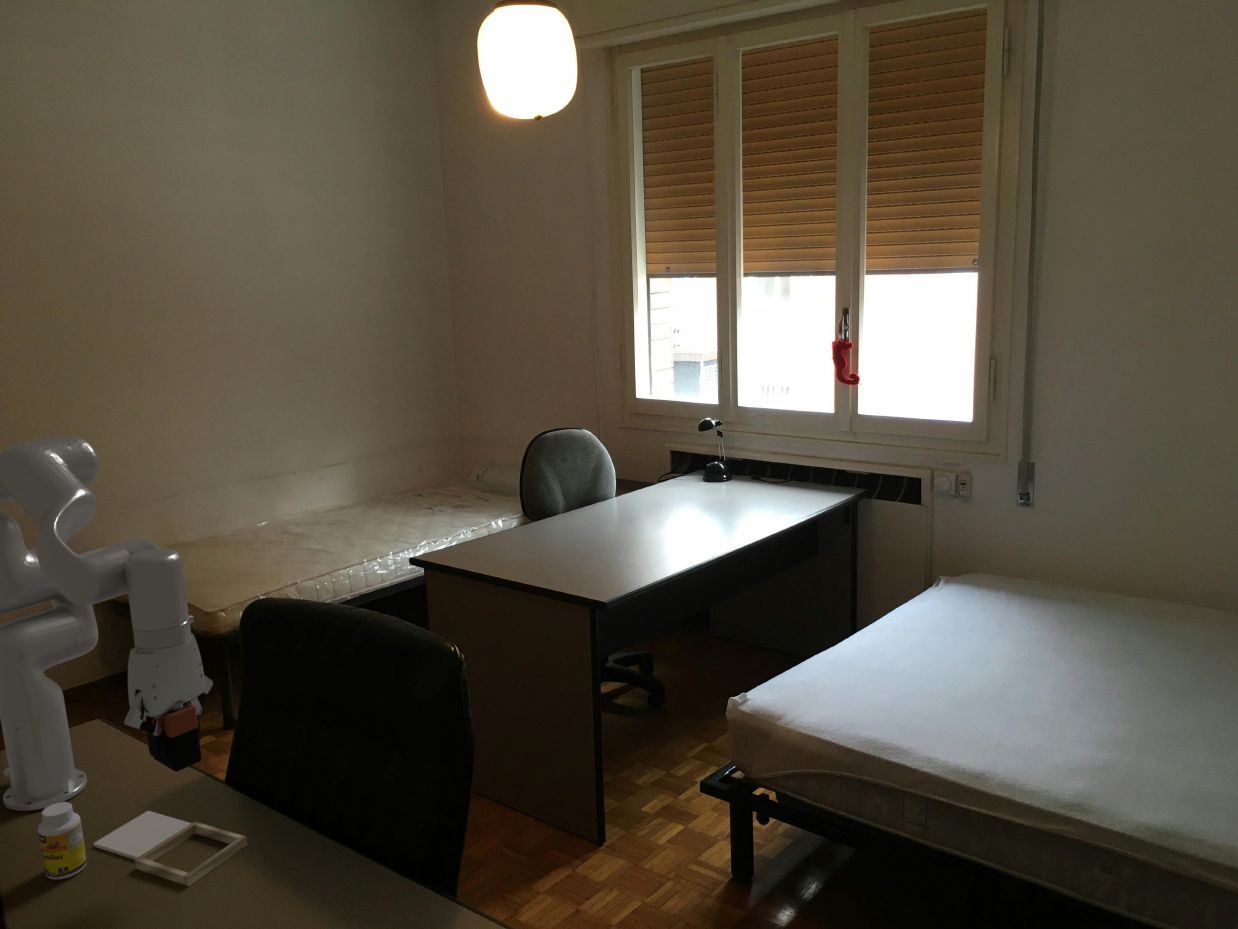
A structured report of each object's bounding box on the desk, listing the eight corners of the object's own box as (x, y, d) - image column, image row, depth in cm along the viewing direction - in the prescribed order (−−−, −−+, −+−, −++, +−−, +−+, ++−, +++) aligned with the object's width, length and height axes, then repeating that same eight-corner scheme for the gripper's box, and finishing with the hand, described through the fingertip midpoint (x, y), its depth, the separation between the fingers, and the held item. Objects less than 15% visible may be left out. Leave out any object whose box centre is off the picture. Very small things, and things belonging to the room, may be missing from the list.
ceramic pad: (94, 846, 152) (93, 843, 152) (148, 813, 160) (148, 810, 160) (138, 861, 147) (137, 857, 147) (191, 826, 156) (191, 823, 156)
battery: (175, 774, 141) (167, 710, 139) (152, 759, 146) (144, 698, 143) (203, 761, 145) (196, 699, 143) (180, 748, 149) (173, 688, 147)
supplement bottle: (36, 878, 144) (26, 816, 142) (67, 857, 149) (57, 796, 147) (65, 884, 142) (55, 821, 140) (96, 862, 147) (86, 801, 145)
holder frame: (136, 869, 145) (134, 860, 145) (195, 830, 155) (194, 821, 155) (189, 886, 141) (187, 877, 140) (247, 845, 151) (246, 836, 150)
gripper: (191, 610, 150) (203, 718, 154) (92, 651, 135) (108, 769, 139) (227, 617, 147) (238, 727, 151) (129, 659, 132) (144, 780, 136)
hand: (175, 746), depth 145 cm, fingers closed on battery, 5 cm apart
